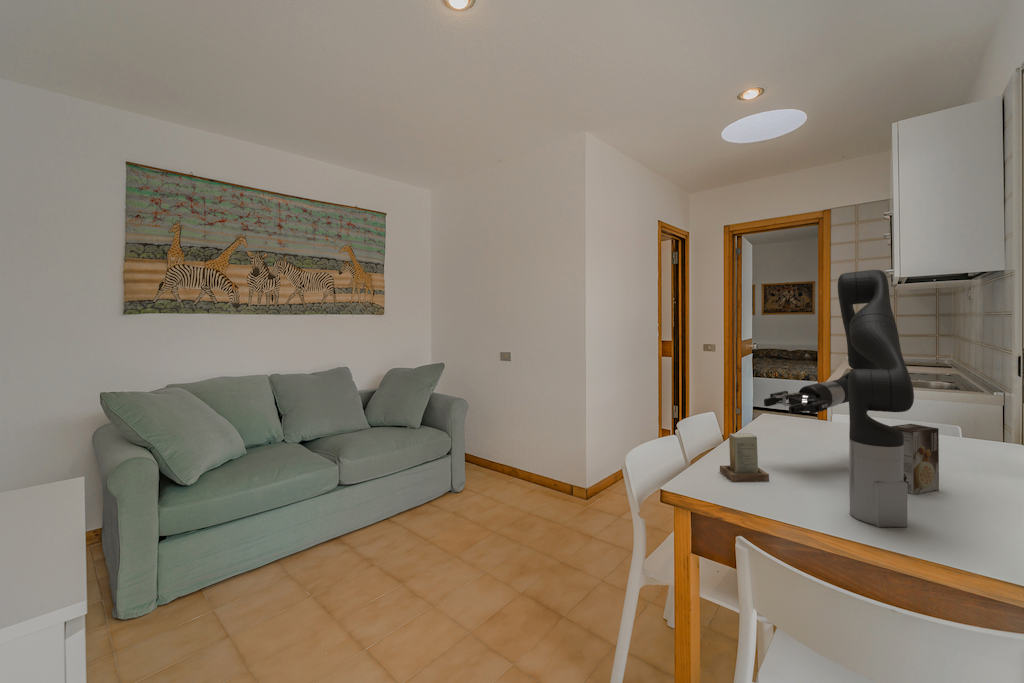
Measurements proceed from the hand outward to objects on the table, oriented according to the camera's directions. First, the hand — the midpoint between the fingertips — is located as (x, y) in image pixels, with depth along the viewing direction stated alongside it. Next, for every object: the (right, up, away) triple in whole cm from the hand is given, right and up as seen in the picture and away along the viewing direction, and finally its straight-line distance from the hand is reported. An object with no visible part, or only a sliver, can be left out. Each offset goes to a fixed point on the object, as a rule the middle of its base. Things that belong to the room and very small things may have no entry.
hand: (777, 406), depth 124 cm
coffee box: (+28, -20, -12) cm, 36 cm away
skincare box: (-10, -20, 0) cm, 23 cm away
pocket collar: (-10, -20, 0) cm, 22 cm away
